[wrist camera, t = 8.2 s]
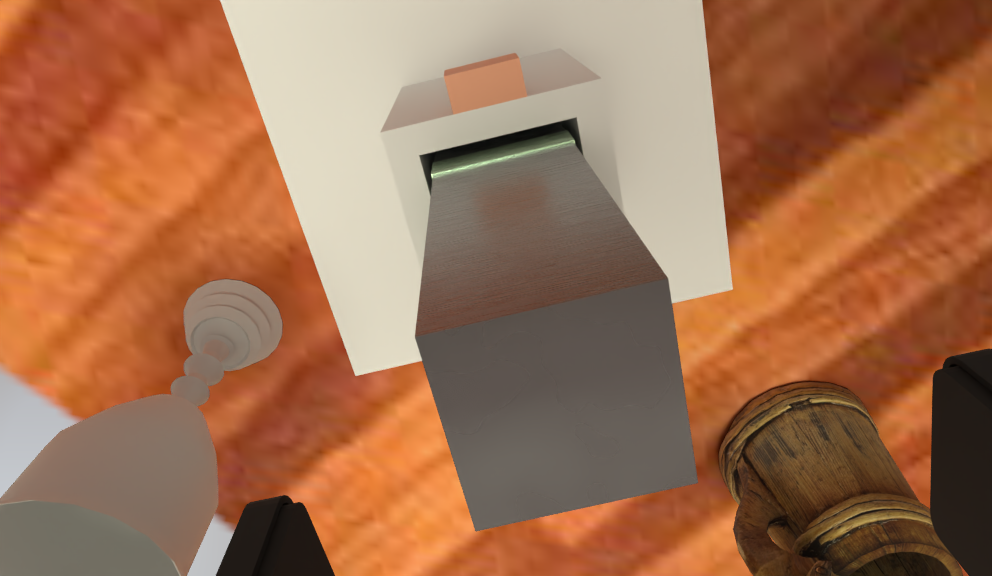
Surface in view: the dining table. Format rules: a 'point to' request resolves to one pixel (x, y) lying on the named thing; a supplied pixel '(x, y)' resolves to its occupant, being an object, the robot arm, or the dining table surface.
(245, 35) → the stand
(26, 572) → the chalice
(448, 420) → the column
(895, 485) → the wooden mug
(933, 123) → the dining table surface
